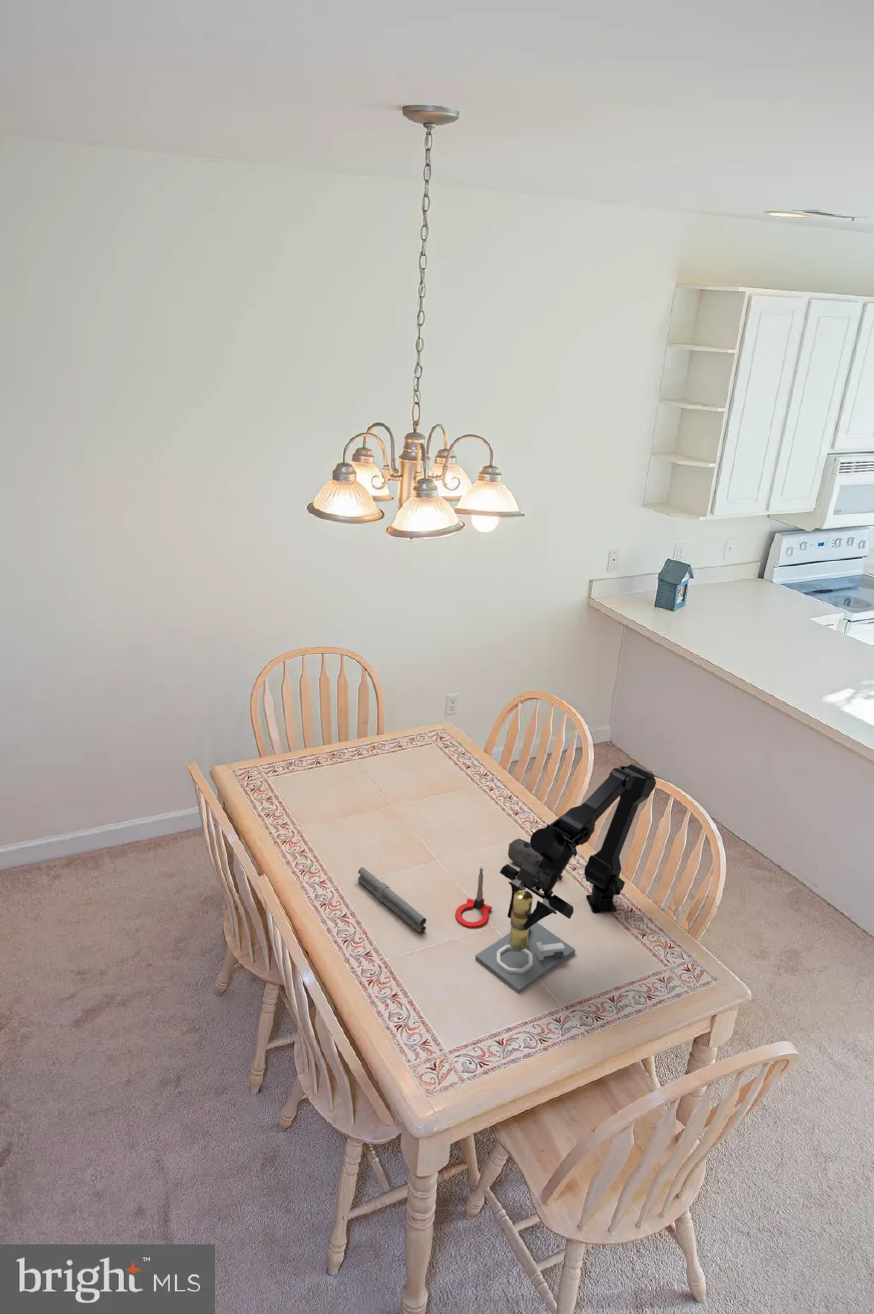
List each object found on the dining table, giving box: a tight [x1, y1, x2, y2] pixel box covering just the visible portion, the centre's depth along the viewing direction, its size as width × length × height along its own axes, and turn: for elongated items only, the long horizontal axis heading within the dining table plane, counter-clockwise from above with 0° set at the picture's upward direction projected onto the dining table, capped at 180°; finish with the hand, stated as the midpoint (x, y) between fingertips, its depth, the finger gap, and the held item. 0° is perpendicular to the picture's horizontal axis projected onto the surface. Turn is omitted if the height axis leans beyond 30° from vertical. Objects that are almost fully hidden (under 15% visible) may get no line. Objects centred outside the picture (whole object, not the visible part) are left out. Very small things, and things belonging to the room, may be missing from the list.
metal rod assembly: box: [357, 867, 427, 935], centre depth 223 cm, size 26×3×5 cm, turn 42°
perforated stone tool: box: [507, 837, 542, 867], centre depth 239 cm, size 15×5×7 cm, turn 54°
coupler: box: [509, 889, 534, 951], centre depth 201 cm, size 5×5×14 cm
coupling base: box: [475, 922, 576, 994], centre depth 209 cm, size 20×14×4 cm
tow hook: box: [454, 866, 493, 929], centre depth 219 cm, size 8×13×9 cm
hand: (516, 923), depth 200 cm, fingers closed on coupler, 5 cm apart
